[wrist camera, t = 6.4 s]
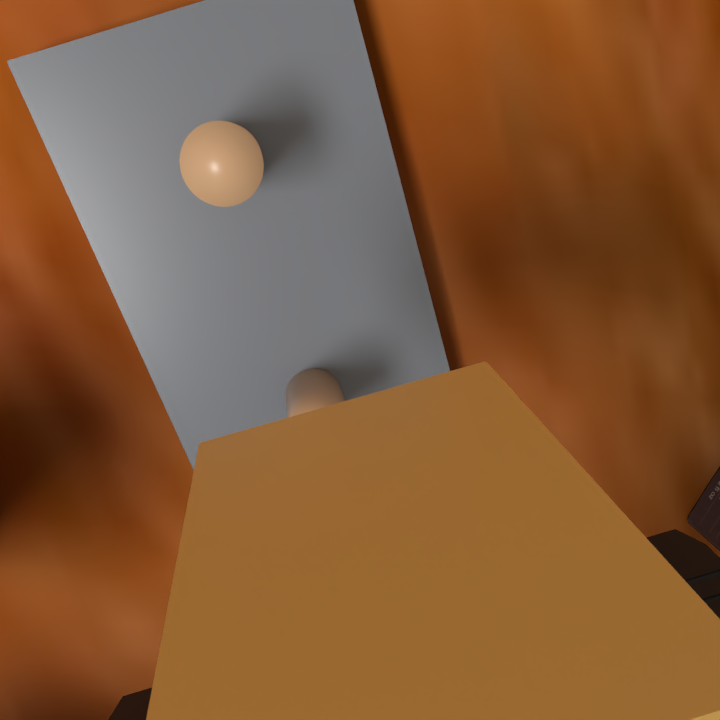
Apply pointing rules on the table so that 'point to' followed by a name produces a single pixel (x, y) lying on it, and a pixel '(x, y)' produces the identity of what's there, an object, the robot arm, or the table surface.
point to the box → (708, 512)
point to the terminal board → (241, 207)
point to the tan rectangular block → (422, 574)
